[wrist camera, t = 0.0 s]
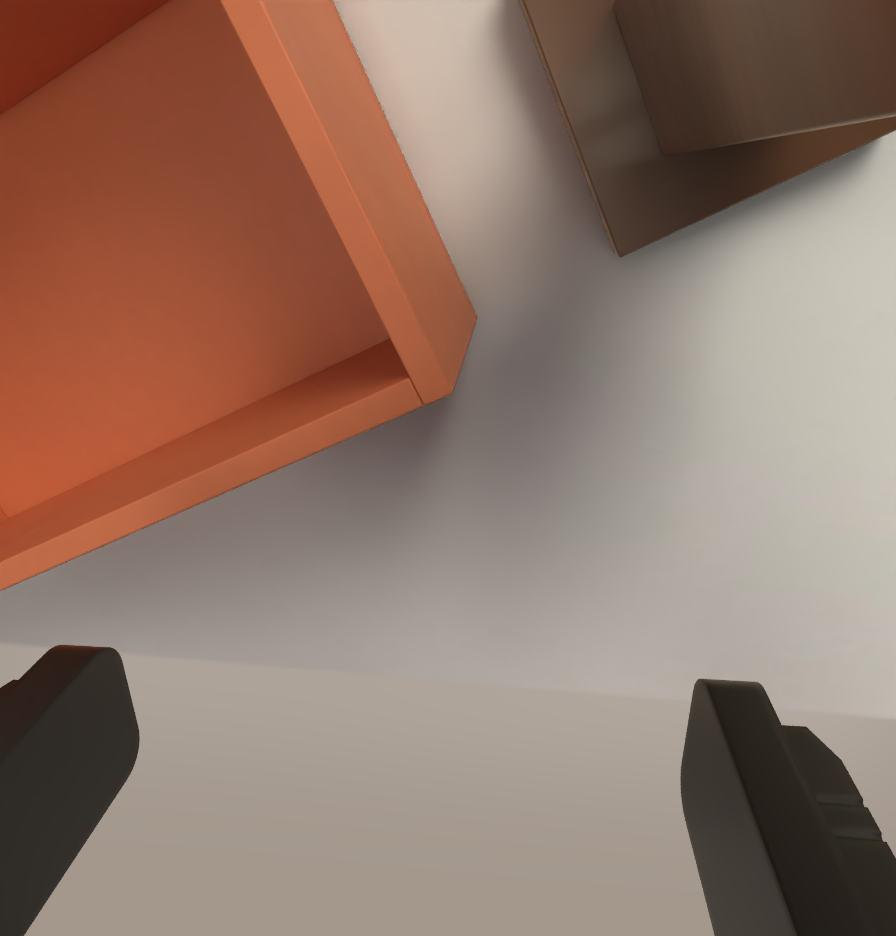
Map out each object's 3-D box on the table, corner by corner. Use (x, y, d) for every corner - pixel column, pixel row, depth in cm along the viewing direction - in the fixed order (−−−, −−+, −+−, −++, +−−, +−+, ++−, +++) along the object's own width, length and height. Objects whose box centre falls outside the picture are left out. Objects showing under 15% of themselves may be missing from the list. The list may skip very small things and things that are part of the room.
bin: (285, -103, 18) (107, -317, 10) (477, 318, 22) (453, 393, 14) (-209, 237, 23) (-578, 266, 16) (17, 531, 27) (-188, 673, 19)
